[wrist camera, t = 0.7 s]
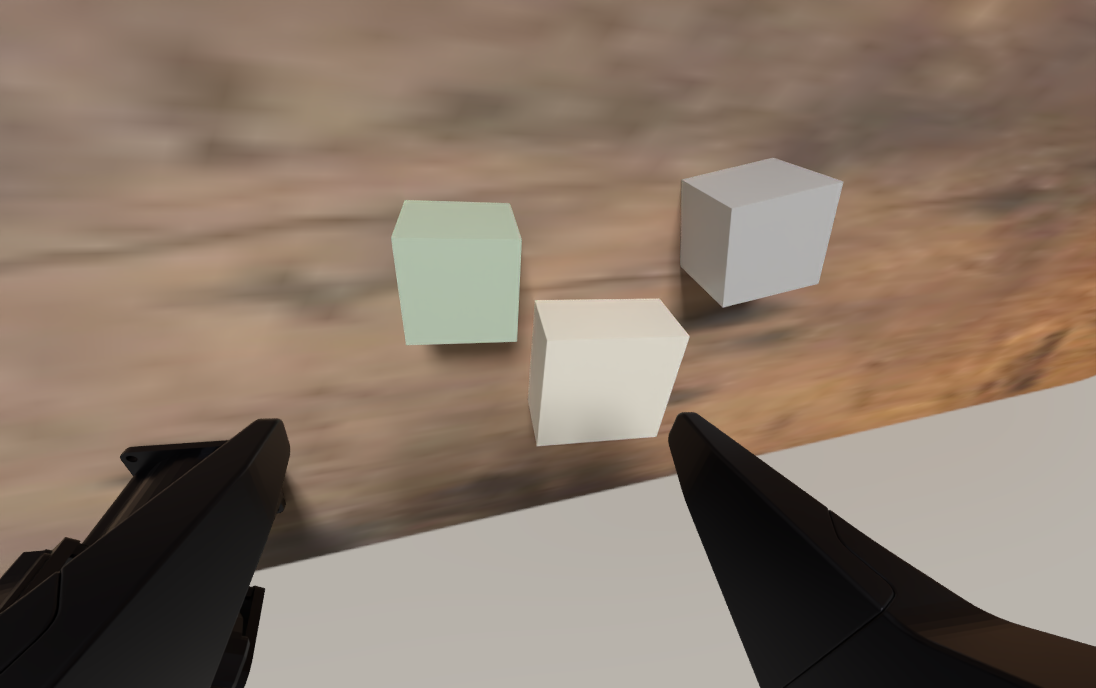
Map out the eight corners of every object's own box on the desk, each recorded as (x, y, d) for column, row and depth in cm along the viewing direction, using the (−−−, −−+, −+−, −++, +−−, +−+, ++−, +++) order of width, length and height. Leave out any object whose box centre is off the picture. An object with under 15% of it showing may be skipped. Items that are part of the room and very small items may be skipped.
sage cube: (415, 292, 20) (406, 345, 17) (405, 199, 18) (391, 237, 14) (507, 291, 21) (516, 341, 18) (509, 202, 19) (521, 239, 15)
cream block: (527, 397, 26) (536, 446, 23) (534, 297, 22) (547, 340, 19) (632, 390, 27) (656, 436, 24) (657, 296, 23) (689, 336, 20)
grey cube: (679, 265, 22) (722, 307, 18) (680, 179, 19) (731, 208, 16) (759, 245, 22) (818, 283, 19) (772, 157, 20) (843, 181, 16)
